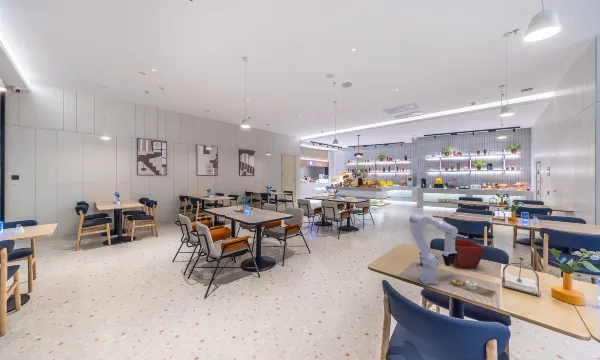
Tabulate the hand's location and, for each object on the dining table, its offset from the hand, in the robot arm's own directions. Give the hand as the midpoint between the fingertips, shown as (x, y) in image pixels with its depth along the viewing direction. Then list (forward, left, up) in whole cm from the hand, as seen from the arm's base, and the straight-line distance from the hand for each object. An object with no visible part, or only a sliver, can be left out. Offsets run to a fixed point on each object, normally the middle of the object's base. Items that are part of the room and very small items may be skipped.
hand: (449, 264), depth 153 cm
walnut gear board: (+5, -14, -9) cm, 18 cm away
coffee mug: (-4, +20, -10) cm, 22 cm away
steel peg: (+5, -14, -8) cm, 17 cm away
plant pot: (+23, +24, -10) cm, 34 cm away
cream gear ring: (+5, -14, -8) cm, 17 cm away
